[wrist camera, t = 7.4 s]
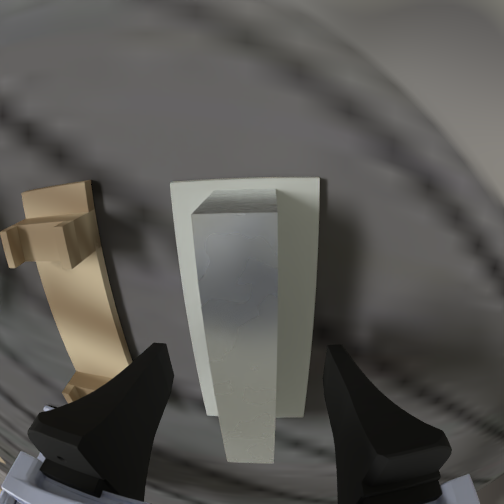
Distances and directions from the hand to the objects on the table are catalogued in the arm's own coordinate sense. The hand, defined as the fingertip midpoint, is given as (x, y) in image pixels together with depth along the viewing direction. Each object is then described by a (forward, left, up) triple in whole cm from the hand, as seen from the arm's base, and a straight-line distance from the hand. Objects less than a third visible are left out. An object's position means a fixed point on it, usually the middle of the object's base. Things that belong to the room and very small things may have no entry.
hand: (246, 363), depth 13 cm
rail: (0, 0, -3) cm, 3 cm away
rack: (0, +10, -3) cm, 10 cm away
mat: (0, 0, -3) cm, 3 cm away
